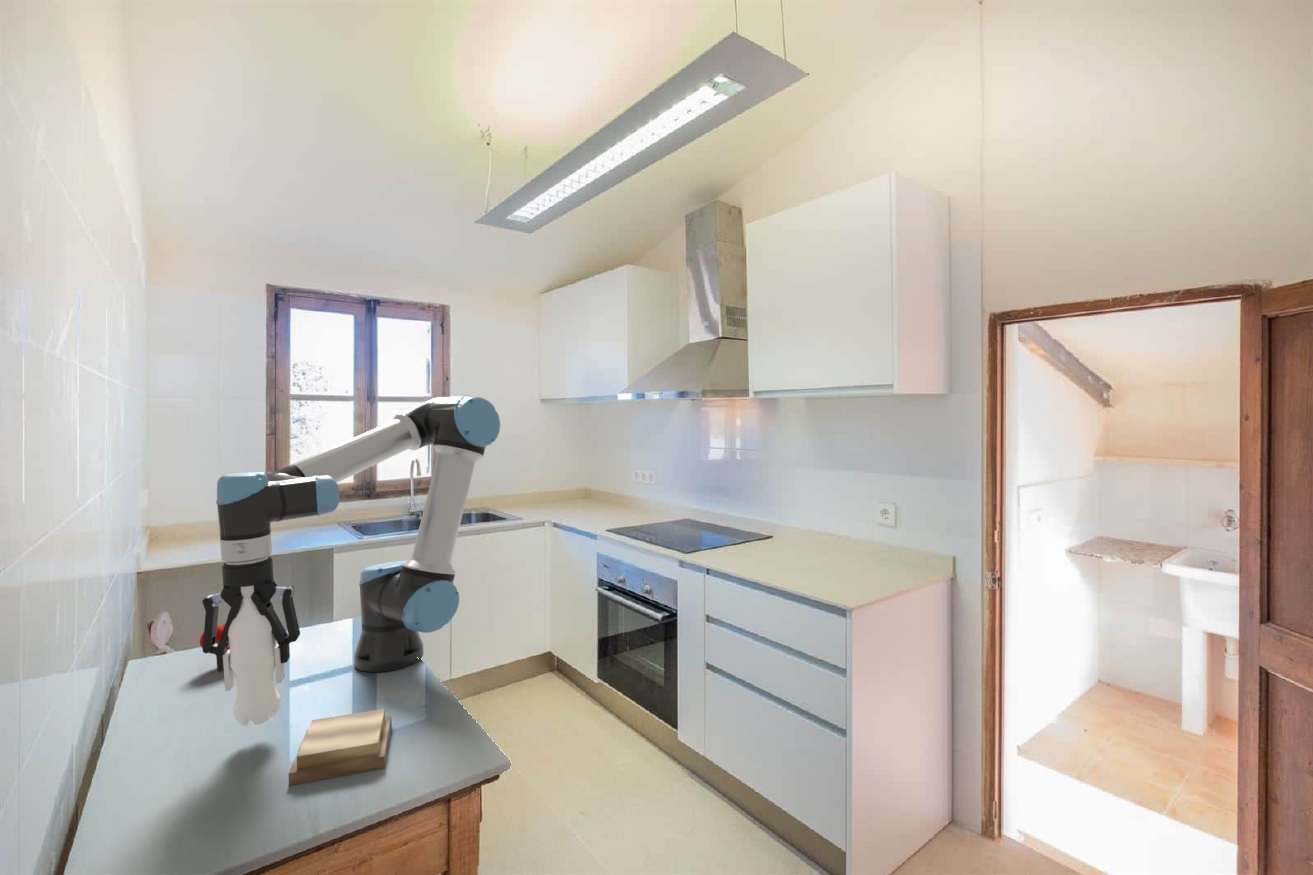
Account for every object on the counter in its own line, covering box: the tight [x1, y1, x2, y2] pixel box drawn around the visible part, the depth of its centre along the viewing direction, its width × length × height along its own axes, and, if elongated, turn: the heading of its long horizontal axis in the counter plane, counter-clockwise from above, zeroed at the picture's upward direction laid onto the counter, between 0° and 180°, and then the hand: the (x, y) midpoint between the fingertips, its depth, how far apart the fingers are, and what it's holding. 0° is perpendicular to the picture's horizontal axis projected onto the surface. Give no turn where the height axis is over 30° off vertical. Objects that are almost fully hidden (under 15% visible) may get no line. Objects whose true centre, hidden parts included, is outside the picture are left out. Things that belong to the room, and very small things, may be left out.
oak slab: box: [296, 708, 386, 769], centre depth 105 cm, size 12×12×2 cm
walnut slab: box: [288, 715, 393, 786], centre depth 105 cm, size 14×14×2 cm
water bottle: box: [228, 585, 281, 726], centre depth 109 cm, size 7×7×25 cm
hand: (255, 683), depth 109 cm, fingers closed on water bottle, 7 cm apart
